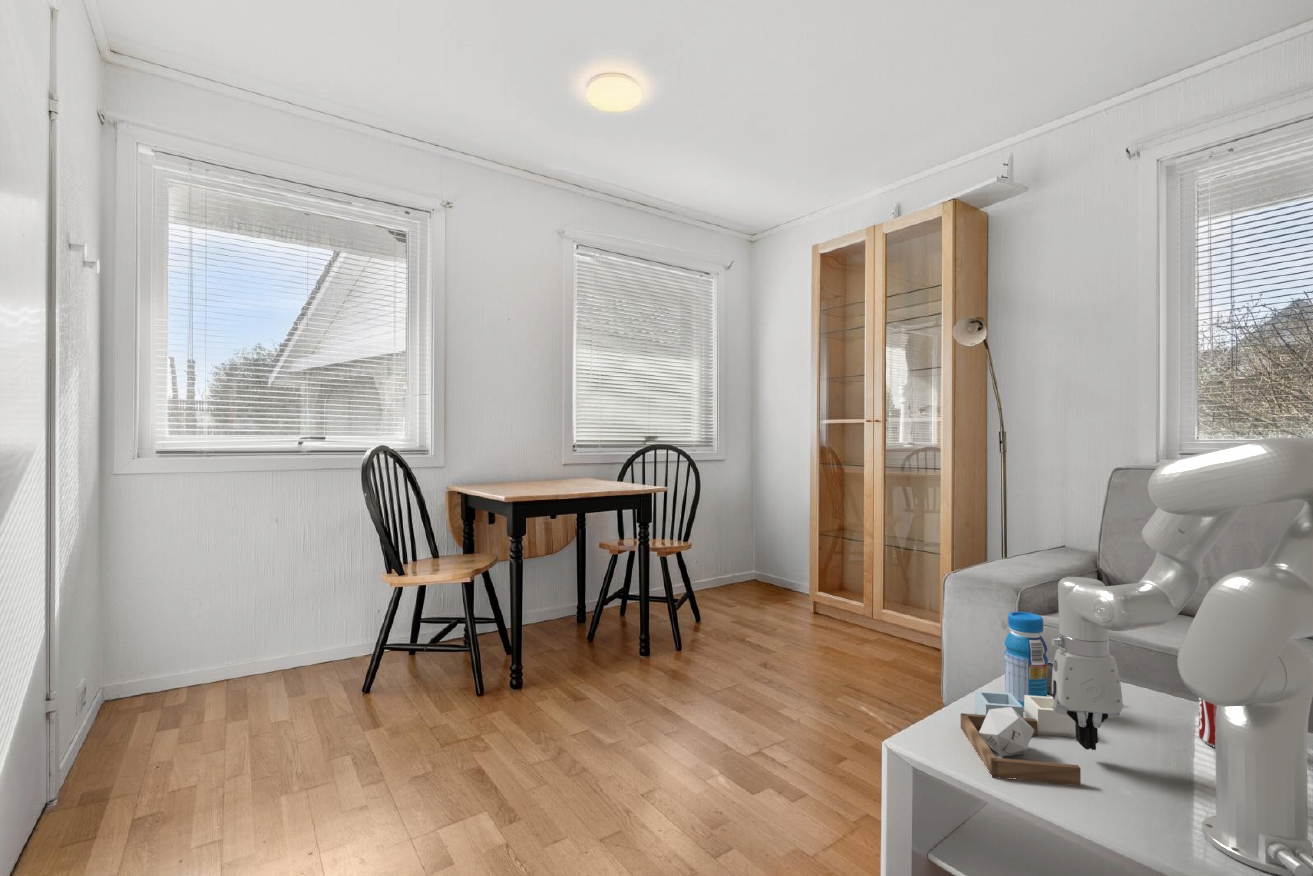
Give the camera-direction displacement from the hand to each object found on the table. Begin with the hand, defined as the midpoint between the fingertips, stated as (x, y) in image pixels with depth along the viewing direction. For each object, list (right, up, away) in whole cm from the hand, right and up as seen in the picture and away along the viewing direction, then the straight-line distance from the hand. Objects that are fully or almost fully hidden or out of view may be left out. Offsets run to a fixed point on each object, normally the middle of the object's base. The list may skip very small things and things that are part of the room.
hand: (1086, 746), depth 114 cm
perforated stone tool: (+16, -3, +29) cm, 33 cm away
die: (-13, -3, +4) cm, 14 cm away
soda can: (+30, -3, +6) cm, 31 cm away
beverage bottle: (+3, -3, +24) cm, 25 cm away
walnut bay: (-12, -3, +3) cm, 12 cm away
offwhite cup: (+2, -3, +14) cm, 14 cm away
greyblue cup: (-7, -3, +16) cm, 18 cm away
